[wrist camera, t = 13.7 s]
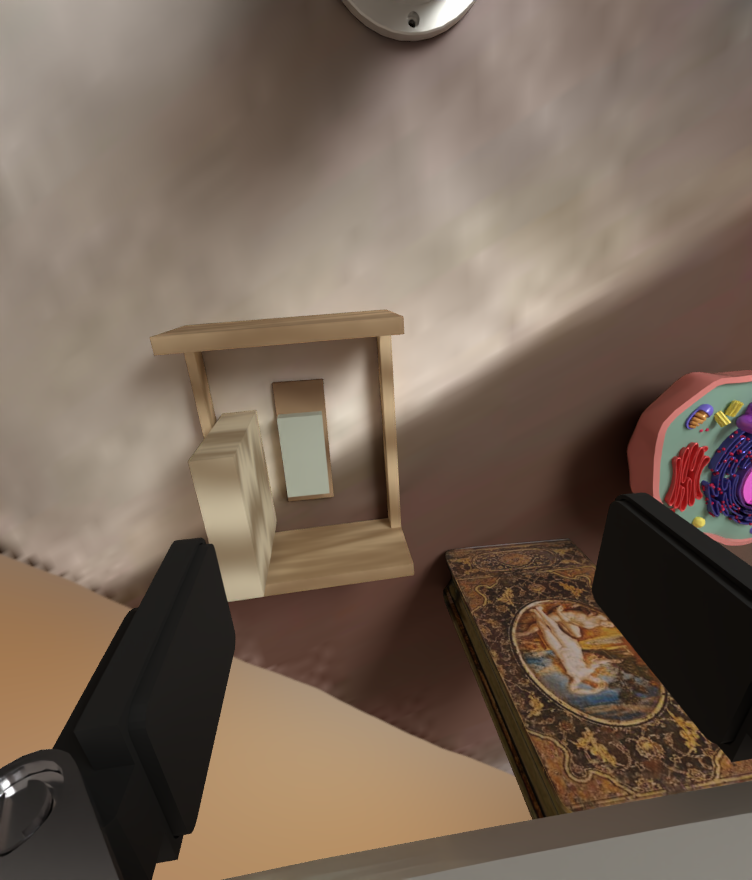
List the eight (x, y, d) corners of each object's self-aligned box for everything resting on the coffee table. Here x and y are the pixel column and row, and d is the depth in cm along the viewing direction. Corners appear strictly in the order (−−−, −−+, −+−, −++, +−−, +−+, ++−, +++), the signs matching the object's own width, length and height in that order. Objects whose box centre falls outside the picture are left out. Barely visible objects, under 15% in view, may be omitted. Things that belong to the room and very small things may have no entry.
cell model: (677, 313, 40) (803, 324, 30) (781, 420, 46) (916, 461, 36) (559, 449, 44) (635, 502, 33) (670, 532, 50) (763, 598, 40)
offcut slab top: (278, 414, 38) (276, 418, 37) (321, 410, 38) (321, 414, 37) (288, 491, 41) (287, 497, 40) (329, 487, 41) (329, 493, 40)
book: (578, 537, 48) (816, 771, 25) (570, 575, 50) (785, 825, 27) (441, 549, 46) (564, 815, 23) (439, 588, 48) (550, 869, 25)
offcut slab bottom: (273, 380, 38) (272, 383, 37) (322, 377, 39) (322, 380, 37) (289, 495, 42) (288, 501, 41) (333, 491, 43) (333, 496, 42)
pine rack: (185, 325, 35) (149, 337, 27) (386, 309, 36) (403, 316, 29) (236, 547, 43) (218, 602, 36) (398, 526, 45) (414, 574, 37)
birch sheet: (222, 413, 38) (187, 461, 28) (256, 410, 38) (233, 456, 28) (247, 525, 42) (224, 602, 32) (276, 521, 43) (263, 596, 32)
